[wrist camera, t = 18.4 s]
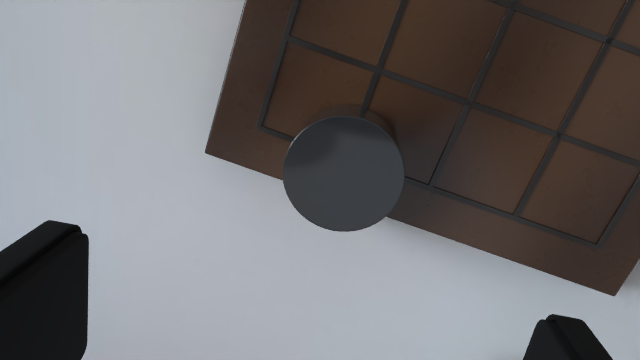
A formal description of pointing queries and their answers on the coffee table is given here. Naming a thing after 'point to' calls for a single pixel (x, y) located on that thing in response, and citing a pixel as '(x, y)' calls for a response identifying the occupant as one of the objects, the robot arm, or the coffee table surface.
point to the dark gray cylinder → (344, 168)
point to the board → (464, 115)
